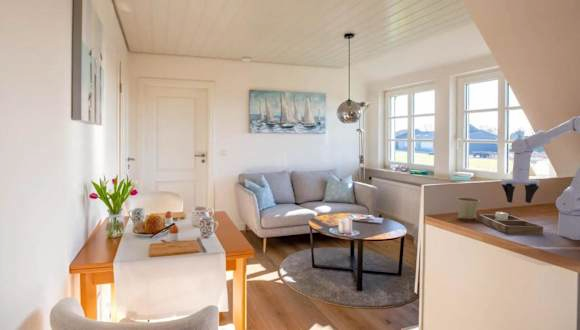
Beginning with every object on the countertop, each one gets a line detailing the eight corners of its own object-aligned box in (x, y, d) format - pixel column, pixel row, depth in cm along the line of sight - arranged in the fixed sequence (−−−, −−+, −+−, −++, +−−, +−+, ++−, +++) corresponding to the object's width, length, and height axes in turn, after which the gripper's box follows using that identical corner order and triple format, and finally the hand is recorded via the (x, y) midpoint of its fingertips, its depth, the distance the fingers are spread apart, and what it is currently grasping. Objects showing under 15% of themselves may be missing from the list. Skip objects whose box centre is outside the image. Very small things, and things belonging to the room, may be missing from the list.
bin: (542, 236, 138) (543, 227, 138) (505, 235, 138) (506, 226, 138) (509, 223, 159) (510, 215, 158) (477, 222, 158) (477, 214, 158)
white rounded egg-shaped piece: (509, 225, 151) (510, 214, 150) (498, 225, 151) (499, 214, 150) (503, 222, 155) (504, 212, 155) (492, 222, 155) (493, 211, 155)
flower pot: (482, 219, 165) (483, 199, 164) (473, 222, 159) (474, 201, 158) (460, 215, 172) (461, 196, 171) (451, 218, 165) (452, 198, 165)
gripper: (532, 168, 158) (529, 200, 159) (497, 167, 157) (495, 200, 159) (544, 170, 151) (541, 204, 152) (508, 169, 150) (505, 203, 152)
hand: (518, 202), depth 155 cm, fingers open, 7 cm apart
